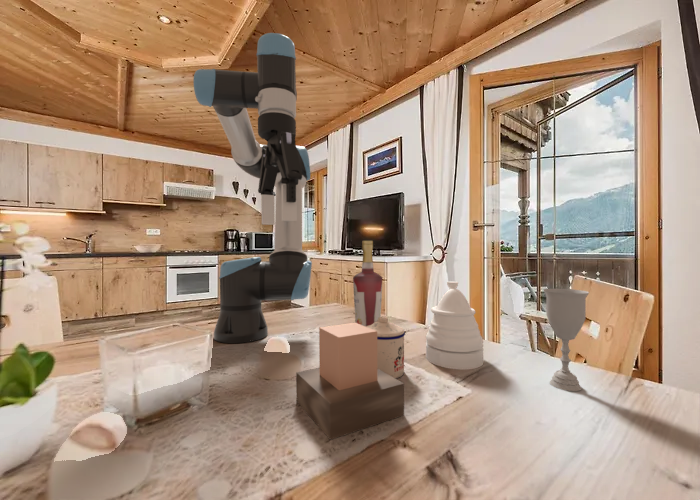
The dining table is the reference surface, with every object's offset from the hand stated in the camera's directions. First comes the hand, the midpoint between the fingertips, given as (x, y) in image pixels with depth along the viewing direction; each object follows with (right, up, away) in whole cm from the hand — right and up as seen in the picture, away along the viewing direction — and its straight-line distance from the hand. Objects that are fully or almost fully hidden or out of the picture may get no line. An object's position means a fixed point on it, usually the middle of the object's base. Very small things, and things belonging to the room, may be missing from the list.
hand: (277, 223), depth 67 cm
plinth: (+14, -32, -13) cm, 37 cm away
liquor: (+19, -31, +15) cm, 40 cm away
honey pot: (+39, -31, +10) cm, 51 cm away
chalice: (+56, -32, -4) cm, 64 cm away
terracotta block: (+14, -27, -13) cm, 33 cm away
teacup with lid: (+22, -32, +4) cm, 39 cm away
